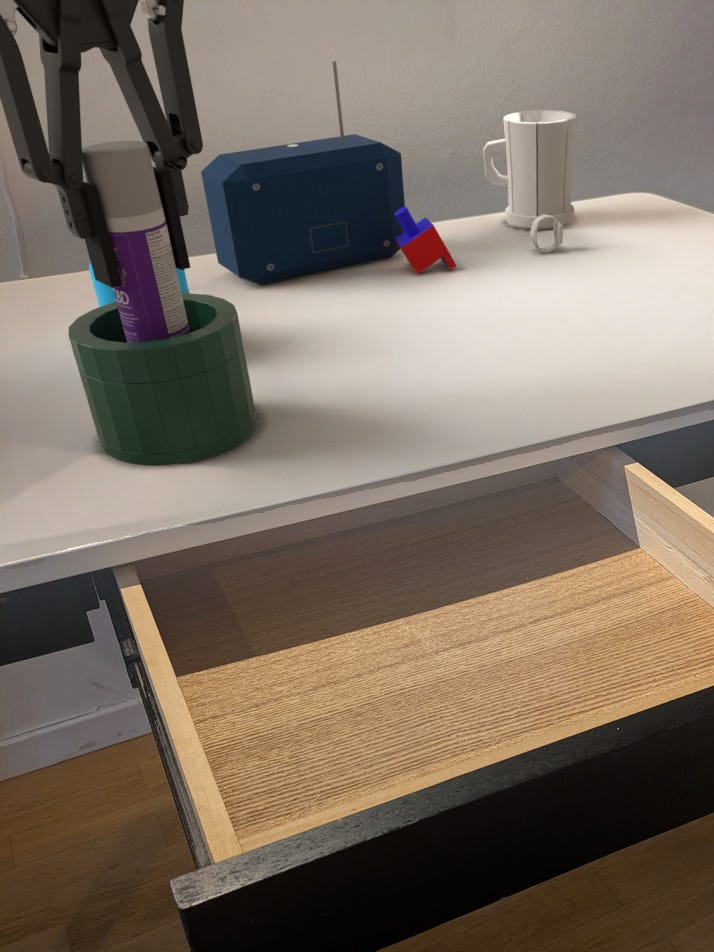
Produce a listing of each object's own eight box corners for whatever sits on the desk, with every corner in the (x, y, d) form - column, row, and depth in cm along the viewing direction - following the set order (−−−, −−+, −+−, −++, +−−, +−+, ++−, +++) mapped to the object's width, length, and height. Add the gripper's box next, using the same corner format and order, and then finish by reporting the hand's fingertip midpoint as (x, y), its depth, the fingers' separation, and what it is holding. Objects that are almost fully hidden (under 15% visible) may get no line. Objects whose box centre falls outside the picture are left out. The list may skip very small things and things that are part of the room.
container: (121, 371, 74) (62, 153, 65) (154, 348, 77) (103, 139, 68) (175, 376, 73) (123, 155, 64) (207, 353, 76) (162, 141, 67)
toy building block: (418, 278, 113) (381, 216, 108) (448, 256, 112) (412, 194, 107) (425, 287, 110) (388, 224, 105) (456, 265, 110) (420, 201, 105)
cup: (516, 236, 120) (515, 128, 112) (480, 220, 126) (477, 116, 119) (587, 223, 123) (591, 116, 116) (549, 208, 130) (550, 106, 123)
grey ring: (532, 255, 113) (533, 218, 111) (527, 250, 115) (528, 214, 112) (562, 252, 114) (563, 216, 111) (557, 247, 116) (558, 211, 113)
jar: (80, 468, 74) (43, 352, 68) (126, 401, 83) (98, 295, 78) (240, 463, 73) (217, 346, 68) (268, 397, 83) (249, 290, 78)
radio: (377, 239, 121) (360, 52, 109) (412, 255, 115) (398, 59, 103) (216, 272, 112) (177, 72, 100) (244, 291, 106) (207, 81, 94)
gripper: (-94, -136, 50) (45, 316, 64) (212, -141, 59) (275, 256, 73) (-136, -130, 55) (2, 292, 69) (155, -135, 64) (224, 238, 78)
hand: (143, 272), depth 71 cm, fingers closed on container, 5 cm apart
